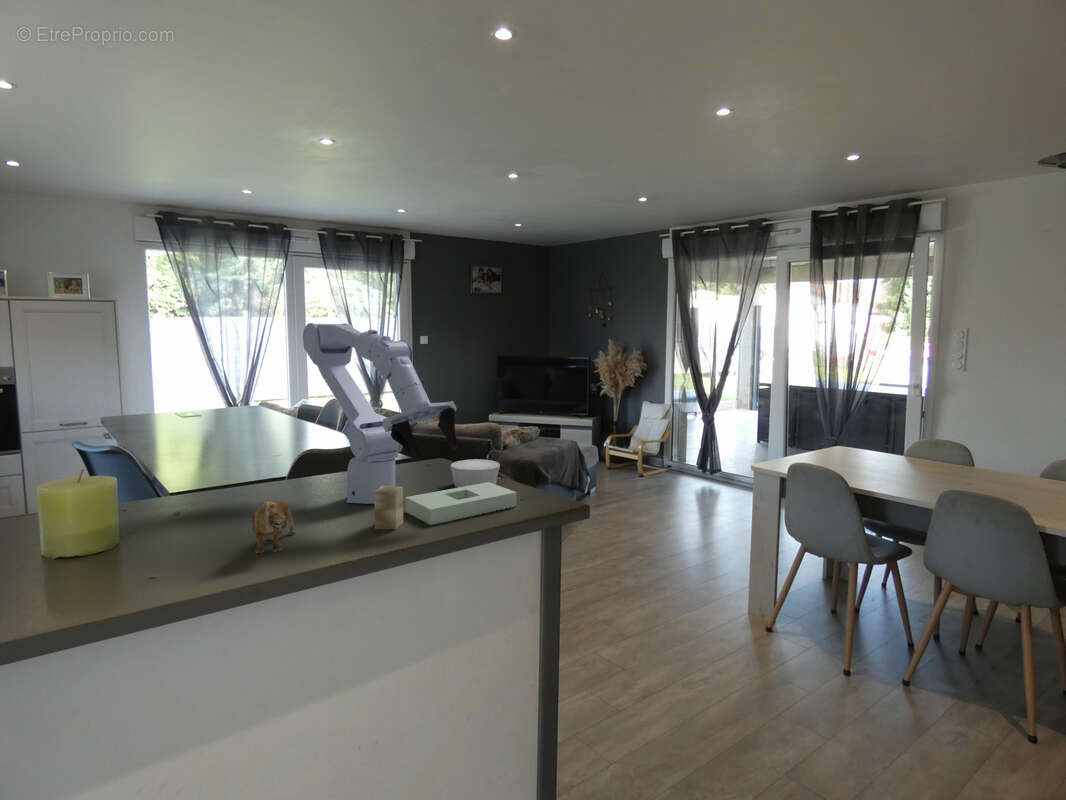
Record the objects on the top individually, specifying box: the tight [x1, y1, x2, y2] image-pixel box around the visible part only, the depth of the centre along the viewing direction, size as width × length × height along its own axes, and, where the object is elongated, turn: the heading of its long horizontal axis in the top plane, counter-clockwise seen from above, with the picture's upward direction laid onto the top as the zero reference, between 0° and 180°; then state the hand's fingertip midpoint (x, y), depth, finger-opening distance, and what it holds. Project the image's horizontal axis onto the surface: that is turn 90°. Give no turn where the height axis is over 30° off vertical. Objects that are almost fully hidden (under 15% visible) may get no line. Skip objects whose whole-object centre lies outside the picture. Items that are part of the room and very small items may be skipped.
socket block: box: [404, 482, 518, 526], centre depth 126 cm, size 20×10×3 cm, turn 129°
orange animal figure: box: [251, 500, 296, 554], centre depth 104 cm, size 15×5×9 cm, turn 13°
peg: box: [373, 485, 404, 531], centre depth 115 cm, size 4×4×7 cm
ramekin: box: [450, 458, 501, 488], centre depth 143 cm, size 11×11×5 cm
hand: (437, 453), depth 116 cm, fingers open, 7 cm apart
